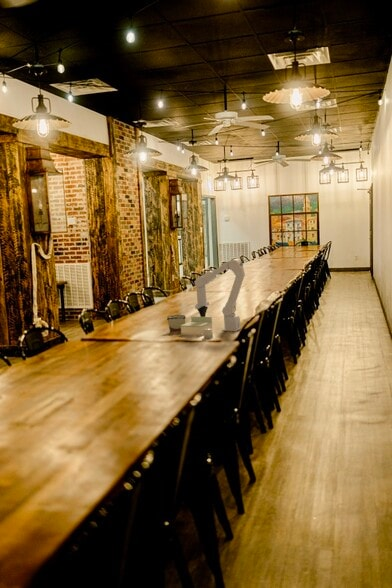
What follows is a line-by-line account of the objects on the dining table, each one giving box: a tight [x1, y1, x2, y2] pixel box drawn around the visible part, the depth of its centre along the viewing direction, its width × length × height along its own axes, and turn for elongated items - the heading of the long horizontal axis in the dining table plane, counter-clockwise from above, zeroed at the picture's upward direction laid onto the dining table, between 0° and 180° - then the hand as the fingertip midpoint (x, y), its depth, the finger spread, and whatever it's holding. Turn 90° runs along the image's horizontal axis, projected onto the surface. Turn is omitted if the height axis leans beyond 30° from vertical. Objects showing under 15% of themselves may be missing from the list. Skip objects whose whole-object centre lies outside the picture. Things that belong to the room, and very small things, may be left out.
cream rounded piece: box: [203, 328, 214, 340], centre depth 324 cm, size 5×5×5 cm
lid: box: [181, 315, 213, 327], centre depth 340 cm, size 14×14×4 cm
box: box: [180, 322, 213, 336], centre depth 341 cm, size 14×14×5 cm
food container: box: [166, 314, 187, 334], centre depth 349 cm, size 12×6×10 cm, turn 84°
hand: (203, 318), depth 347 cm, fingers closed
